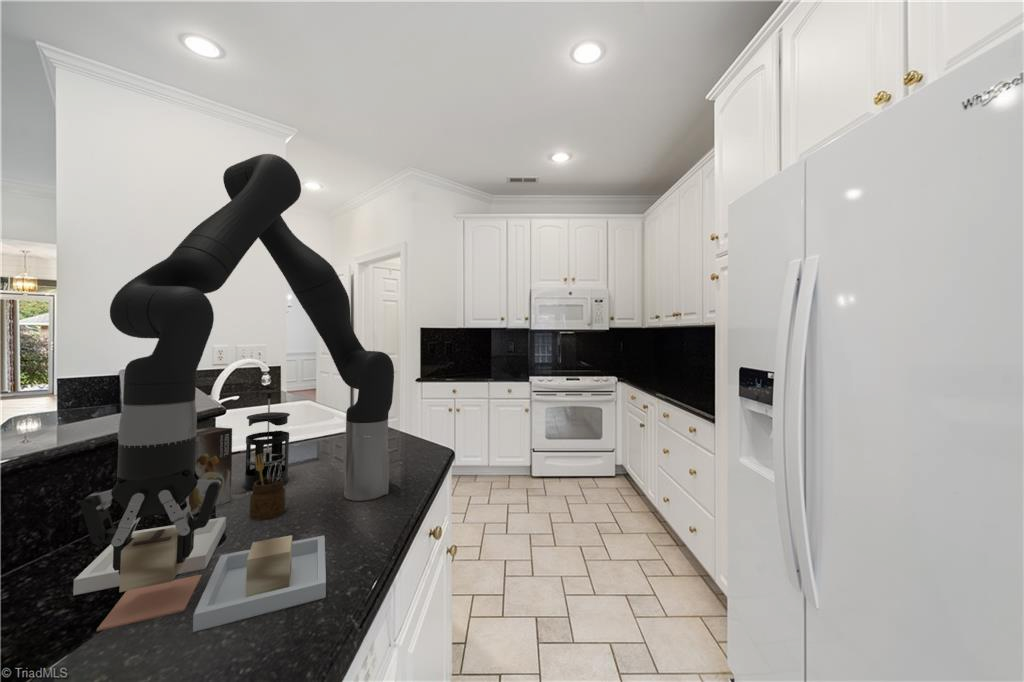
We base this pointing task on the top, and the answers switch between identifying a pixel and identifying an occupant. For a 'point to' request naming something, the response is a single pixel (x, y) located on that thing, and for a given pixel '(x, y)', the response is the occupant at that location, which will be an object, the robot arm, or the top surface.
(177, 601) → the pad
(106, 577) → the white tray
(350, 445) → the robot arm
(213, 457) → the coffee box
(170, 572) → the letter cube
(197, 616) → the blue tray
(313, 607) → the top surface
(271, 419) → the french press
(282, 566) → the plain cube
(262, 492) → the utensil holder
